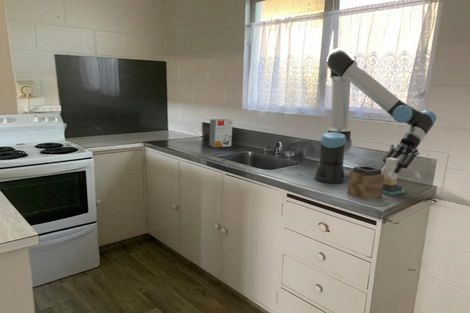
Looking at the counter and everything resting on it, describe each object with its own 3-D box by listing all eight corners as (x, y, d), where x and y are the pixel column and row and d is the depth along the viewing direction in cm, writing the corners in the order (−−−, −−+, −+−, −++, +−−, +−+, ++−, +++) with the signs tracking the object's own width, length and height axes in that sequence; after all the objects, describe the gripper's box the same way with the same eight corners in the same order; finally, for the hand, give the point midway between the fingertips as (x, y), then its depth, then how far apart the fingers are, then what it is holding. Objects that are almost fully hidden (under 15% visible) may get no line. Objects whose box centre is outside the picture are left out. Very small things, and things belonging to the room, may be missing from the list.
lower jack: (371, 188, 159) (372, 182, 159) (385, 186, 164) (386, 180, 164) (390, 195, 151) (391, 188, 150) (404, 192, 156) (405, 186, 155)
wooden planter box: (347, 192, 152) (350, 166, 149) (362, 190, 157) (365, 165, 154) (365, 199, 143) (369, 172, 141) (381, 196, 148) (385, 170, 146)
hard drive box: (214, 147, 249) (214, 120, 245) (208, 145, 255) (209, 119, 251) (231, 146, 258) (232, 119, 254) (226, 144, 264) (227, 118, 260)
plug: (383, 183, 158) (386, 158, 155) (388, 182, 160) (391, 157, 157) (390, 185, 154) (393, 159, 152) (396, 184, 156) (399, 159, 154)
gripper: (433, 146, 154) (405, 186, 149) (399, 141, 168) (372, 176, 163) (427, 135, 150) (399, 175, 145) (393, 130, 164) (366, 167, 160)
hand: (385, 176), depth 154 cm, fingers closed on plug, 4 cm apart
